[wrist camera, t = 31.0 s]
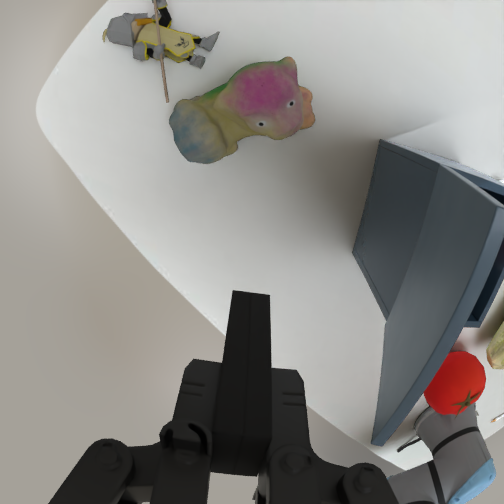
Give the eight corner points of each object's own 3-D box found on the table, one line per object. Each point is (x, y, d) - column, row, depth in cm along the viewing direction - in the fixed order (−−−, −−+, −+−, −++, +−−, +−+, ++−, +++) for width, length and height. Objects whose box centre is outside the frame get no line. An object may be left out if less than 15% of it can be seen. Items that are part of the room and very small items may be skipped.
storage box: (460, 163, 33) (533, 198, 21) (429, 264, 40) (479, 327, 27) (379, 138, 33) (441, 163, 20) (352, 252, 40) (387, 323, 27)
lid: (513, 211, 9) (497, 205, 9) (382, 447, 15) (370, 444, 15) (449, 166, 20) (439, 163, 20) (392, 328, 26) (384, 325, 26)
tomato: (413, 390, 52) (430, 435, 42) (417, 350, 47) (440, 399, 37) (465, 371, 50) (486, 412, 40) (475, 330, 45) (503, 372, 35)
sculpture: (204, 176, 36) (178, 199, 27) (169, 112, 33) (132, 114, 24) (323, 120, 32) (341, 123, 23) (288, 52, 29) (292, 29, 20)
